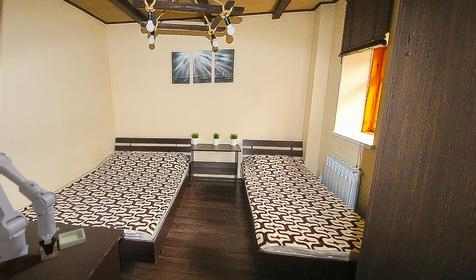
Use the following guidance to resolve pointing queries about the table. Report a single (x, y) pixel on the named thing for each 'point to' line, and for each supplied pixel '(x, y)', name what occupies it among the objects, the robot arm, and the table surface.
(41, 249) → the tan open box
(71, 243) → the tray
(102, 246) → the table surface
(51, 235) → the robot arm
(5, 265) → the table surface
